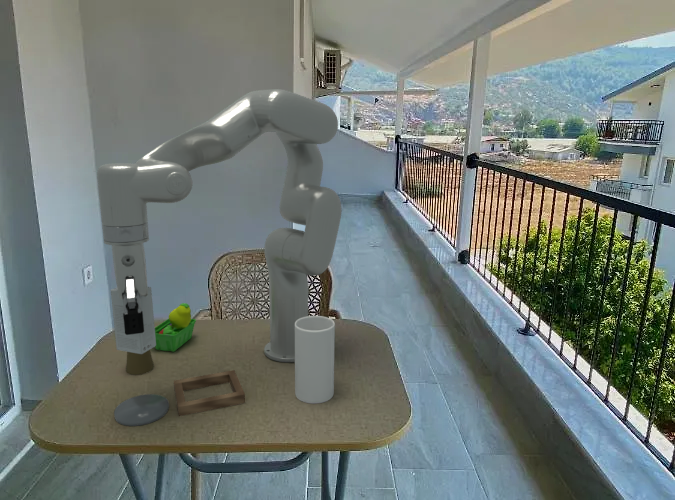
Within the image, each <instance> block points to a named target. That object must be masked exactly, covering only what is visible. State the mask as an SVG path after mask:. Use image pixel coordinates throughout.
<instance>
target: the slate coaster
mask: <svg viewBox="0 0 675 500" xmlns="http://www.w3.org/2000/svg"><path fill="white" fill-rule="evenodd" d="M169 408H170V402H169V399H168V398H166V397H165V396H163V395H161V394H155V393H154V394H153V393H146V394H139V395H136V396H133V397H130V398H127V399H125V400H124V401H122V402H121V403H119V404H118V405H117V406H116V408H115V409H114V412H113V413H114V420H115V421H116V422H117V423H118V424H120V425H123V426H125V427H137V426H139V427H141V426H145V425H149V424H151V423H153V422H156V421H159V420H160V419H161V418H163V417H164V416H165V415H166V414H167V413H168V412H169V410H170V409H169Z"/></svg>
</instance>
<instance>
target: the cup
mask: <svg viewBox="0 0 675 500" xmlns="http://www.w3.org/2000/svg"><path fill="white" fill-rule="evenodd" d="M335 327H336V325H335V321H334V319H332V318H331V317H330V318H329V317H327V316H323V315H308V316H306V317H302V318H300V319H298V320H296V322H295V362H294V395H295V397H296V398H297V400H299V401H300V402H302V403H306V404H321V403H325V402H328V401H329V400H332V398H333V396H334V395H335V393H334V392H335V388H334V387H335V333H336V332H335V331H336V330H335V329H336V328H335Z"/></svg>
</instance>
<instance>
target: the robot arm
mask: <svg viewBox="0 0 675 500" xmlns="http://www.w3.org/2000/svg"><path fill="white" fill-rule="evenodd" d="M338 128H339V121H338V117H337V115H336V113H335V111H334V110H333V109H332V108H331V107H330V106H329V105H328V104H325V103H323V102H320V101H319V100H318V101H317V100H314V99H313V98H312V99H311V98H309V97H306V96H304V95H301V94H298V93H296V92H292V91H289V90H286V89H281V88H277V89H275V88H274V89H273V88H272V89H260V90H259V89H258V90H252V91H250V92H247V93H245V94H244V95H242V96H241V97H239V98H238V99H236V100H234V102H232V103H231V104H230V105H227V107H225V108H223V109H222V110H221V111H220V112H217V113H216V114H215V115H213V116H212V117H210V119H208V120H207V121H204V122H203V123H200V124H199V125H197V126H194V127H192V128H189V130H187V131H184V132H183V133H181V134H179V135H177V136H175V137H172V138H170V139H168V140H166V141H165V142H163V143H160V145H157V146H156V147H155V148H153V149H152V150H150V151H149V152H148V153H146V154H144V155H143V156H142V157H141V158H139V159H138V160H137V161H136V162H135V163H130V162H129V163H128V162H127V163H126V162H117V163H115V162H114V163H105V164H102V165H100V166H99V167H98V168H97V172H96V177H97V187H98V188H97V189H98V198H99V207H100V215H101V216H100V217H101V227H102V235H103V236H102V237H103V243H104V244H105V245H108V246H111V251H112V260H113V269H114V277H115V282H116V288H117V289H118V294H119V298H121V299H123V301H124V313H123V317H124V328H125V334H126V335H131V334H138V333H143V332H144V323H143V312H142V311H141V306H140V295H141V296H145V297H146V296H147V295H148V287H149V286H148V276H147V273H148V272H147V263H146V253H145V246H144V243H147V242H148V241H149V240H150V237H149V236H150V234H149V233H150V232H149V223H148V221H149V220H148V211H147V210H148V208H147V204H148V203H158V204H159V203H160V204H175V203H179V202H180V201H182V200H185V199H186V198H187V197H189V195H190V194H191V193H192V189H193V177H192V175H191V174H190V171H192V170H196V169H198V168H201V167H204V166H208V165H209V166H210V165H214V164H219V163H222V162H225V161H227V160H230V159H232V158H234V156H236V155H237V154H238V153H240V152H241V151H243V150H244V149H245V148H246V147H248V146H249V145H250V144H251V143H253V142H254V141H255V140H257V139H258V138H260V137H261V136H262V135H263V134H264V135H265V133H275V134H276V135H277V137H278V139H279V140H280V142H281V143H282V145H283V147H284V150H285V152H286V157H287V166H286V173H285V177H284V182H283V187H282V190H281V195H280V200H279V206H278V207H279V213H280V216H281V217H282V218H283V219H284V220H285V221H287V222H290V223H292V224H297V225H302V226H304V230H301V229H296V228H292V227H291V228H290V227H280V228H276V229H274V230H273V231H271V232H270V233H269V234H268V236H267V237H266V238H265V242H264V257H265V262H266V267H267V272H268V284H269V286H268V287H269V289H268V290H269V292H268V293H269V295H268V297H269V336H270V337H269V338H270V340H269V342H268V343H266V344H265V345H264V348H263V351H264V355H265V357H267V358H268V359H270V360H272V361H276V362H280V363H295V322H296V320H298V319H300V318H302V317H306V316H309V279H308V276H314V277H315V276H318V275H321V274H323V273H324V272H326V271H327V269H328V267H329V266H330V264H331V262H332V258H333V255H334V251H335V246H336V241H337V237H338V232H339V228H340V223H341V219H342V203H341V199H340V196H339V195H338V193H337V192H336V191H335V190H333V189H331V188H329V187H327V186H321V183H322V176H323V170H324V162H323V156H322V153H321V150H320V148H319V147H318V145H322V144H327V143H329V142H331V140H333V139H334V137H335V136H336V135H337V133H338ZM135 293H137V295H135ZM125 294H127V296H125ZM136 299H137V302H135V300H136ZM127 301H128V303H127ZM137 308H138V309H137Z"/></svg>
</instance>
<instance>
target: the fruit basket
mask: <svg viewBox="0 0 675 500" xmlns="http://www.w3.org/2000/svg"><path fill="white" fill-rule="evenodd" d="M196 322H197V319H195V318H192V310H191V308H190V305H189V304H188V303H187V302H186V303H184V302H182V303H180V304H179V306H177V307H176V308H174V309H172V311H170V312H169V314H168V318H167V319H166V320H164V321H163V322H161V323H159V324H158V325H157V326H155V338H156V346H155V347H154V348H155V350H156V351H164V352H176V351H177V350H178V349H179V348H181V347H182V346H183V345H184V344H185V343H187V342H188V341H189V340H191V339H192V336H193V333H194V329H195V328H194V327H195V324H196Z"/></svg>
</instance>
